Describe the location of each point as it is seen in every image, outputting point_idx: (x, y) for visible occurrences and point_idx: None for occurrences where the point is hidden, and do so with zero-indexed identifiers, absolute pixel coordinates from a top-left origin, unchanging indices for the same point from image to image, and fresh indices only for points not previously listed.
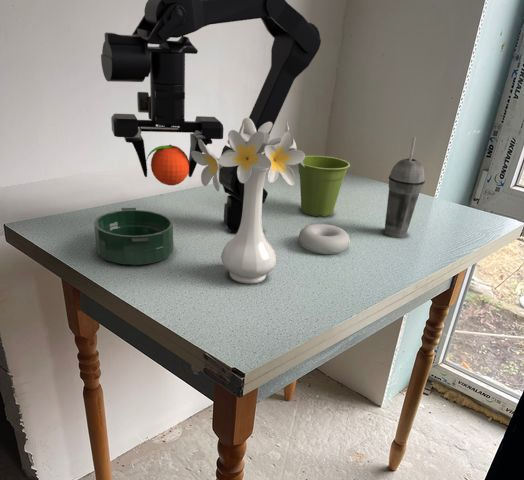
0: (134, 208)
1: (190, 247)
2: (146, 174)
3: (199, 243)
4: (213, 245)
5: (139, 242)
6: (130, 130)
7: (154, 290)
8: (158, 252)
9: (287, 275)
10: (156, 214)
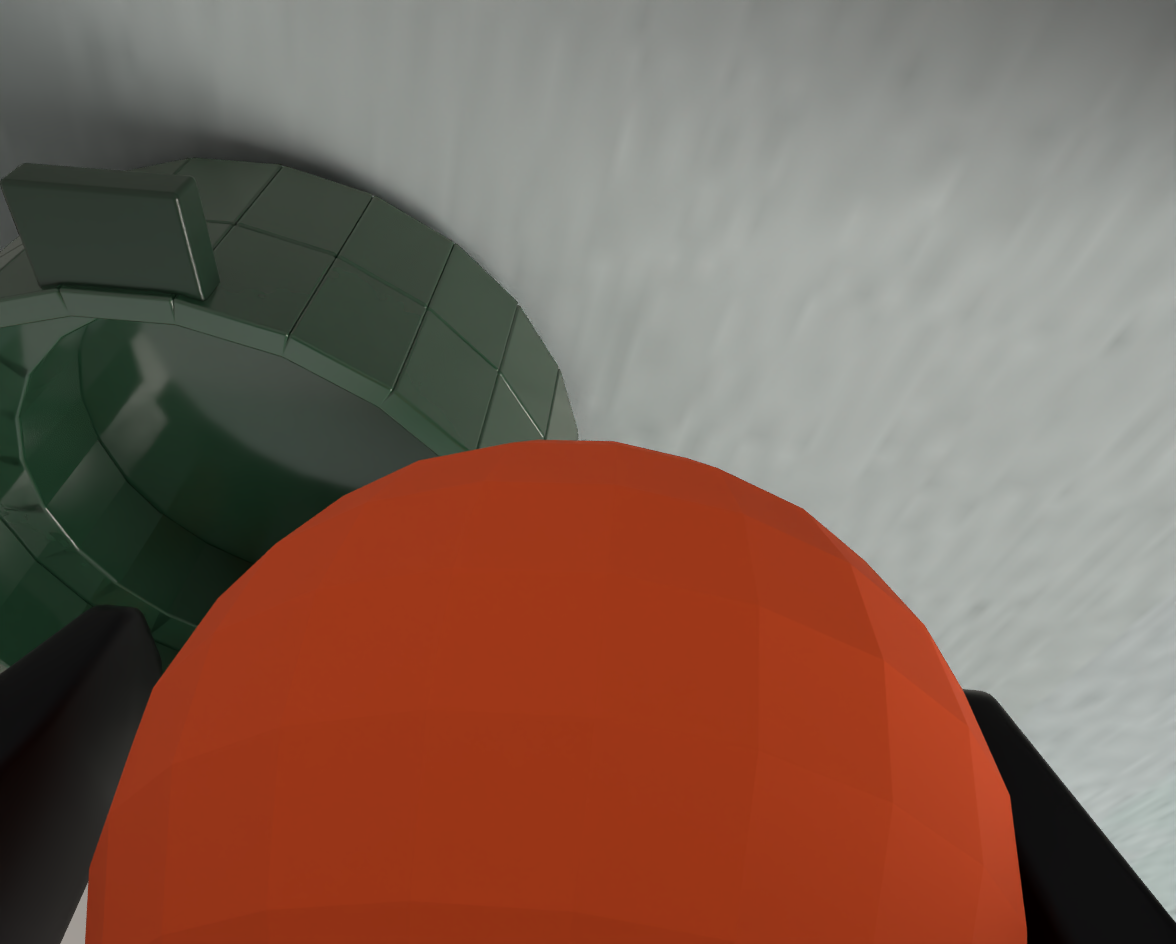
0: (167, 225)
1: (734, 427)
2: (136, 719)
3: (843, 373)
4: (938, 429)
5: None
6: None
7: None
8: None
9: (1106, 814)
10: (429, 443)
